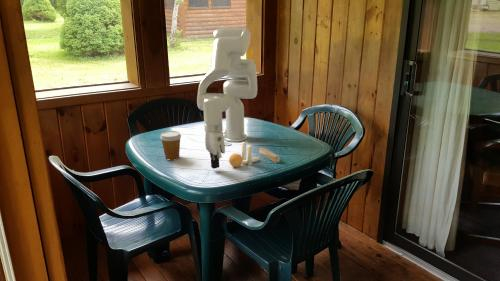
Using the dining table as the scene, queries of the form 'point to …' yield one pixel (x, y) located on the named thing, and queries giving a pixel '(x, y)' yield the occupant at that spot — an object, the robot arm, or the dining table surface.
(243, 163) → the front pin
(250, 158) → the back right pin
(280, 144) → the dining table surface
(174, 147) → the disposable coffee cup
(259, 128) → the dining table surface
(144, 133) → the dining table surface
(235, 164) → the ball
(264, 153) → the back wall
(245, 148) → the back left pin
